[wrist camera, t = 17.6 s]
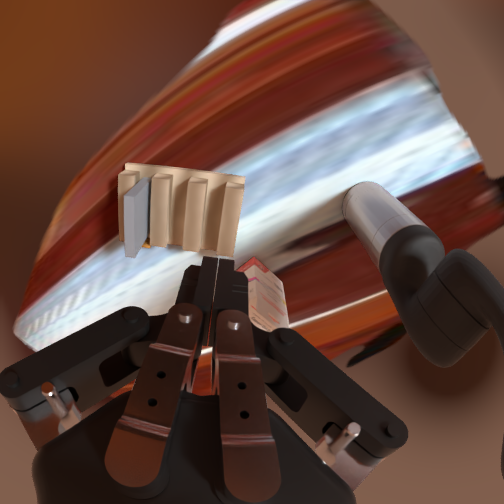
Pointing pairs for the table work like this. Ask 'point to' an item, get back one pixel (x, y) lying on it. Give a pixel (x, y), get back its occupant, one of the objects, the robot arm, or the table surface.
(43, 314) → the table surface
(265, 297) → the ink cartridge box
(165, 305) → the table surface
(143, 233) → the panel
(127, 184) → the rack
